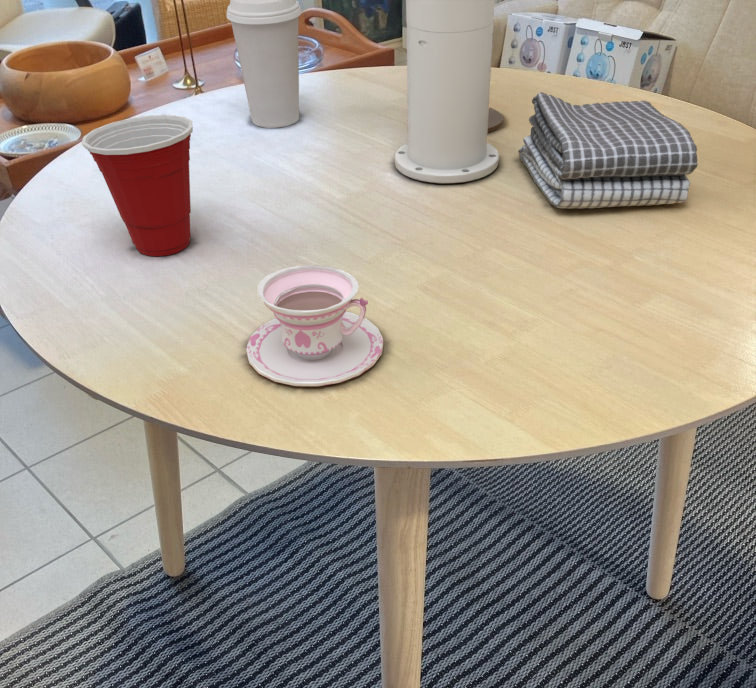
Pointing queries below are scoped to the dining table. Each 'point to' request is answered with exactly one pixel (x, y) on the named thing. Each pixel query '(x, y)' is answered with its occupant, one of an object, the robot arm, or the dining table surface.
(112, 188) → the plastic cup
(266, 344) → the teacup
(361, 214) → the dining table surface
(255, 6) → the coffee cup
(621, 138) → the towel
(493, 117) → the coaster
